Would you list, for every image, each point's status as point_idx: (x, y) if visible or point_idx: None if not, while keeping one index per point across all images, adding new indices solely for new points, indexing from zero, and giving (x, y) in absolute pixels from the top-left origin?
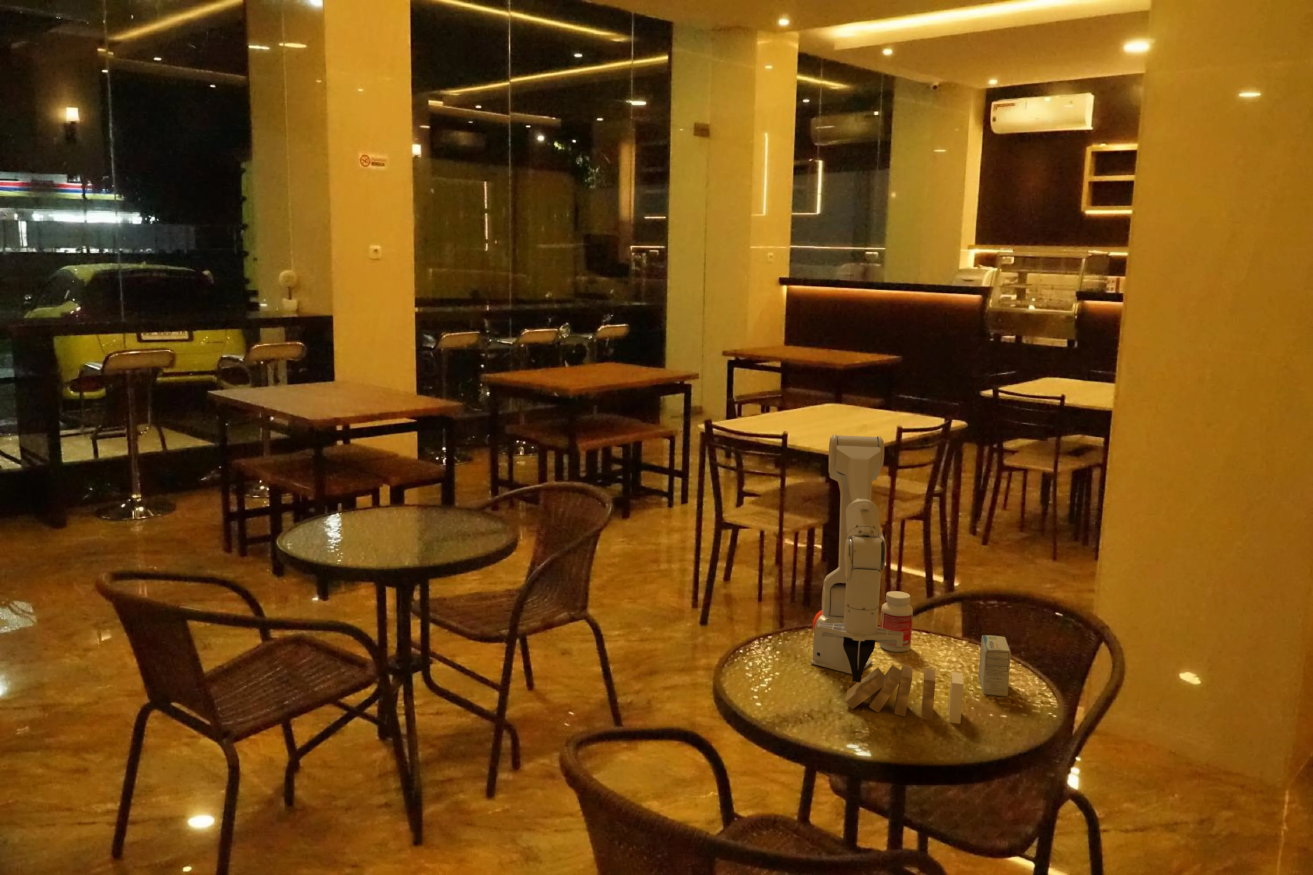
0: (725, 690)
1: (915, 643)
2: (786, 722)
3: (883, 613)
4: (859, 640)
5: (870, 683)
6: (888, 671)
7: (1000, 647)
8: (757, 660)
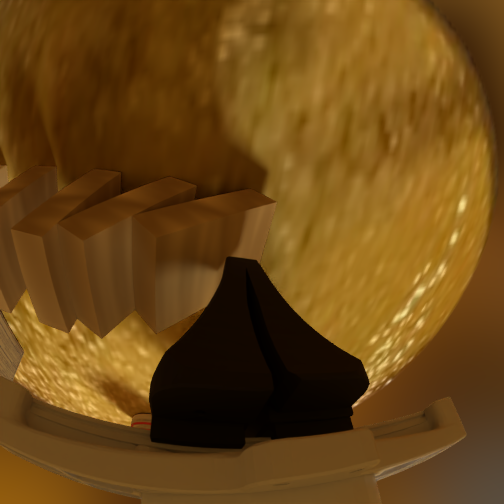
0: (479, 257)
1: (129, 424)
2: (442, 103)
3: None
4: (315, 438)
5: (187, 226)
6: (116, 311)
7: None
8: (382, 367)
